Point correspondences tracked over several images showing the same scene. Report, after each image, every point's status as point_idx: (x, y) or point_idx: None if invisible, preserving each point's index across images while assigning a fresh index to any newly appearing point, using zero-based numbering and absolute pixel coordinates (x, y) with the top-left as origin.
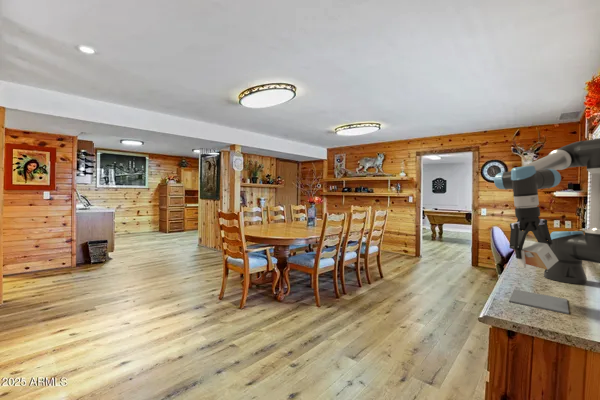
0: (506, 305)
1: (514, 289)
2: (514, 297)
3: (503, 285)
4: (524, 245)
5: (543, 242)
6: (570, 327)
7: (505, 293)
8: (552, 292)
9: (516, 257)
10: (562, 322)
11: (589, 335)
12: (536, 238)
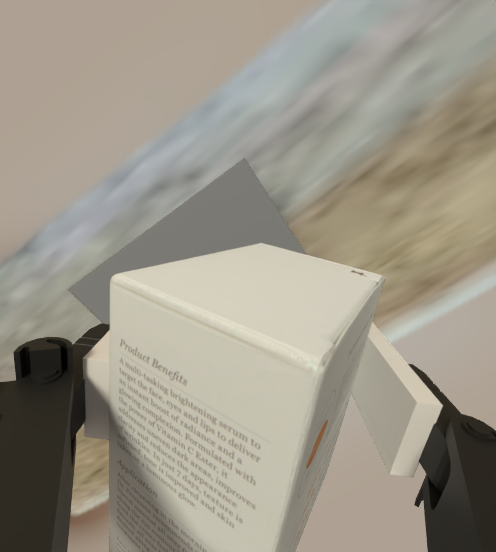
0: (23, 318)
1: (243, 161)
2: (128, 263)
3: (273, 61)
4: (168, 439)
5: (429, 539)
6: (90, 467)
7: (154, 189)
8: (399, 217)
9: (91, 334)
10: (101, 443)
11: (93, 499)
12: (473, 540)
